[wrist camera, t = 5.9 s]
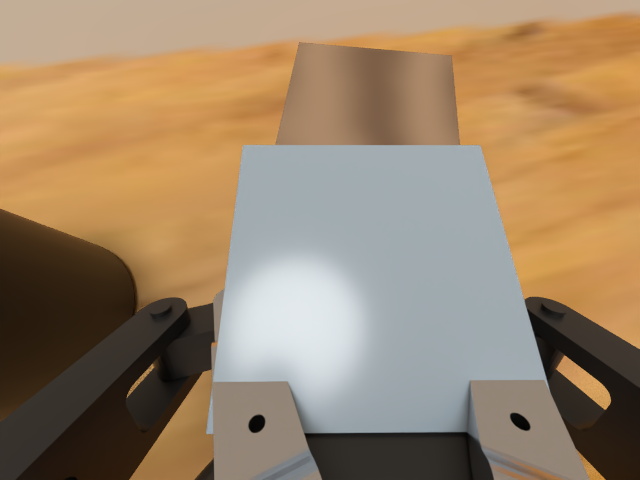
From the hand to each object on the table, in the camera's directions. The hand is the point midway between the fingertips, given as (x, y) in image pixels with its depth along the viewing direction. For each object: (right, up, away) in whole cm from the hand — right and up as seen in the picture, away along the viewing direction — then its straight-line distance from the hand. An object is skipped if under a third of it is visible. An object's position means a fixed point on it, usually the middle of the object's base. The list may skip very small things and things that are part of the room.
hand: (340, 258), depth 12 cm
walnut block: (+2, +7, +7) cm, 10 cm away
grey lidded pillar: (0, -3, +3) cm, 5 cm away
